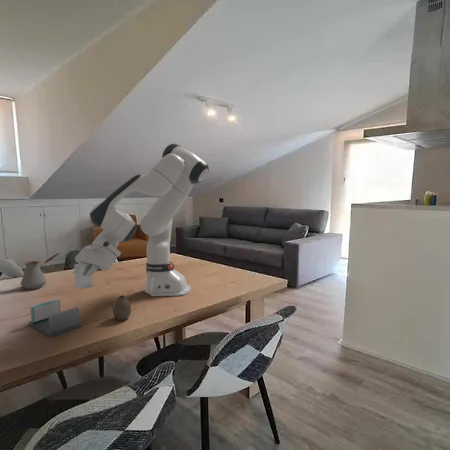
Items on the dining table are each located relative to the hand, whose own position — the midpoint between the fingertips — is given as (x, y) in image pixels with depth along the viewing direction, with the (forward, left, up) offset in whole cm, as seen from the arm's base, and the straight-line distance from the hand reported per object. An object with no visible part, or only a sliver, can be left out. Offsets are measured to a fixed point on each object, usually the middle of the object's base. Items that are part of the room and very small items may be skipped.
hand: (82, 275), depth 125 cm
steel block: (0, 0, -5) cm, 5 cm away
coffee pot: (+45, -37, -17) cm, 61 cm away
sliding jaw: (+12, +6, -16) cm, 20 cm away
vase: (-16, 0, -17) cm, 23 cm away
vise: (+6, +9, -17) cm, 20 cm away
